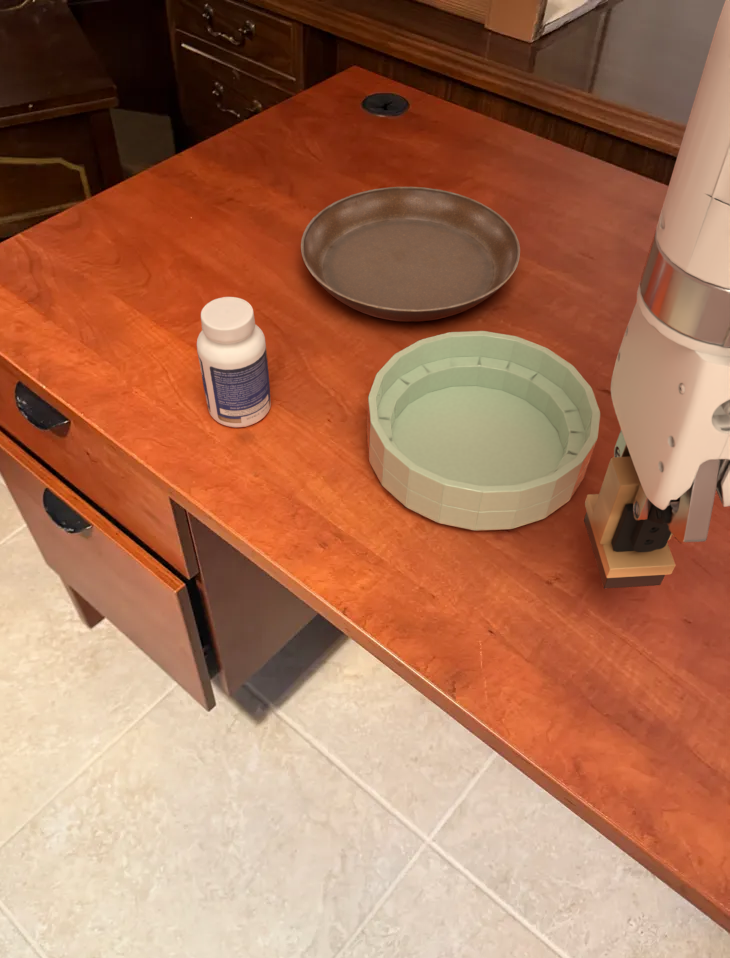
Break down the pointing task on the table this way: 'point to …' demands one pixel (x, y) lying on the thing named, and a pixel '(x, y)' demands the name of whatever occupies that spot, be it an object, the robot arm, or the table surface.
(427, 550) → the table surface
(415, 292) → the plant saucer
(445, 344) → the bowl
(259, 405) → the pill bottle
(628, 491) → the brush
